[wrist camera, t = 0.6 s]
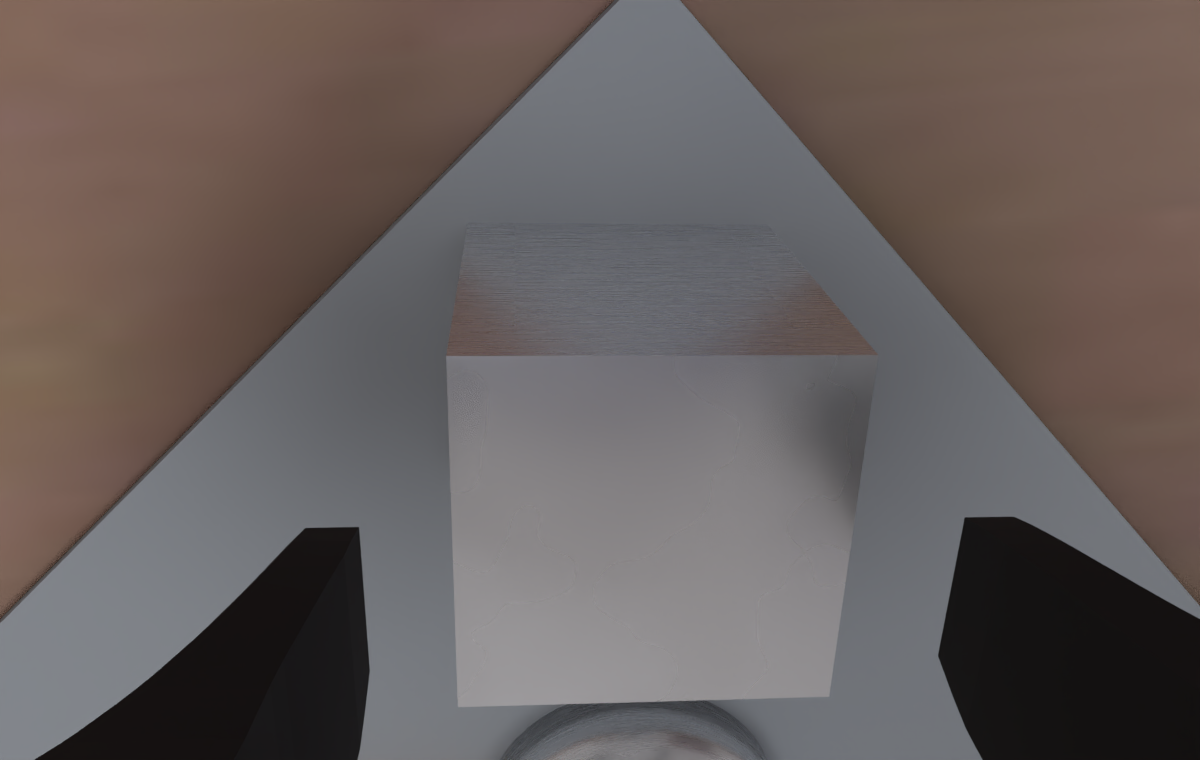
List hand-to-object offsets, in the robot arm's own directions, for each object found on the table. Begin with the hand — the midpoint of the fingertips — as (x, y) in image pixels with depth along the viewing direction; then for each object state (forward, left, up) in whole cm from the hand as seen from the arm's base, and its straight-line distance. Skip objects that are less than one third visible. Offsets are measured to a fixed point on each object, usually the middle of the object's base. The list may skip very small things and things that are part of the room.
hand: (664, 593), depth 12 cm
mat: (-5, +6, -8) cm, 11 cm away
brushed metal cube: (0, 0, -7) cm, 7 cm away
